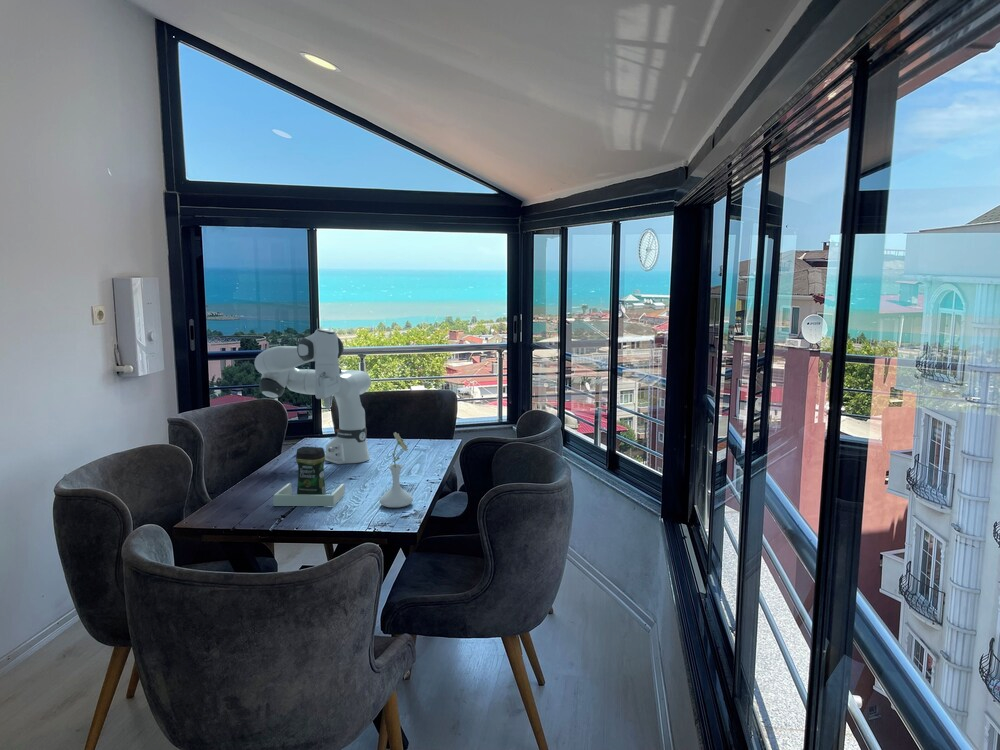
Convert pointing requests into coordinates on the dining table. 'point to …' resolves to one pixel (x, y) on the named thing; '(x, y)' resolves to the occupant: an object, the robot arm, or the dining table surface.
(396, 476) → the flower in vase
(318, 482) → the coffee jar
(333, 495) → the report bay
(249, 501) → the dining table surface
